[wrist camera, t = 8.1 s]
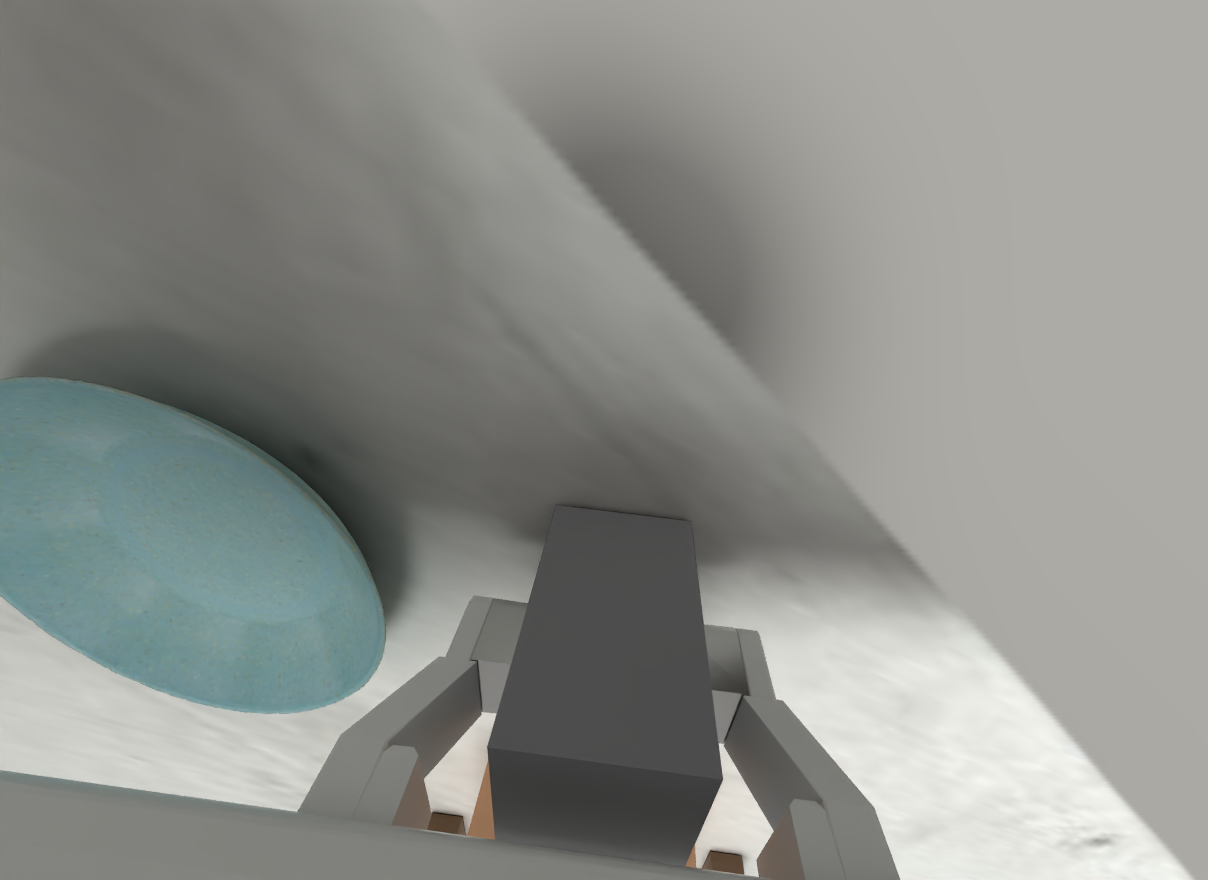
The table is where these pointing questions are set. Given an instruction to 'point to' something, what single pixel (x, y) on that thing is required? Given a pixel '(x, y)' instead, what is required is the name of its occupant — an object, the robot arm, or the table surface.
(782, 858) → the robot arm
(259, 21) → the table surface
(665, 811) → the tethered block
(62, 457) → the saucer
